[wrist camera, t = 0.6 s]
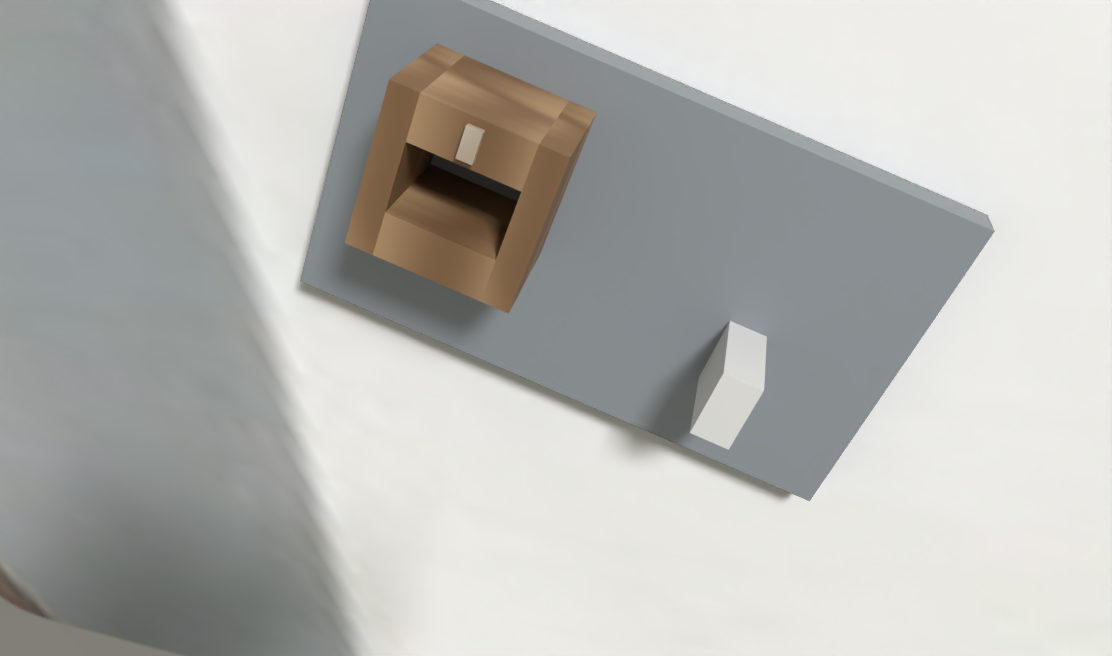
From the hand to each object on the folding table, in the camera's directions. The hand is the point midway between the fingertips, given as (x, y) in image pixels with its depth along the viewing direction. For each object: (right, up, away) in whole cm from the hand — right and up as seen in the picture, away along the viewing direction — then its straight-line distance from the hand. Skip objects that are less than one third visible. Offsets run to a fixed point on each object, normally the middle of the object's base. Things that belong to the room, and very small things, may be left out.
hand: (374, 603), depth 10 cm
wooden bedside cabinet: (-1, +9, +28) cm, 29 cm away
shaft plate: (+4, +6, +30) cm, 31 cm away
